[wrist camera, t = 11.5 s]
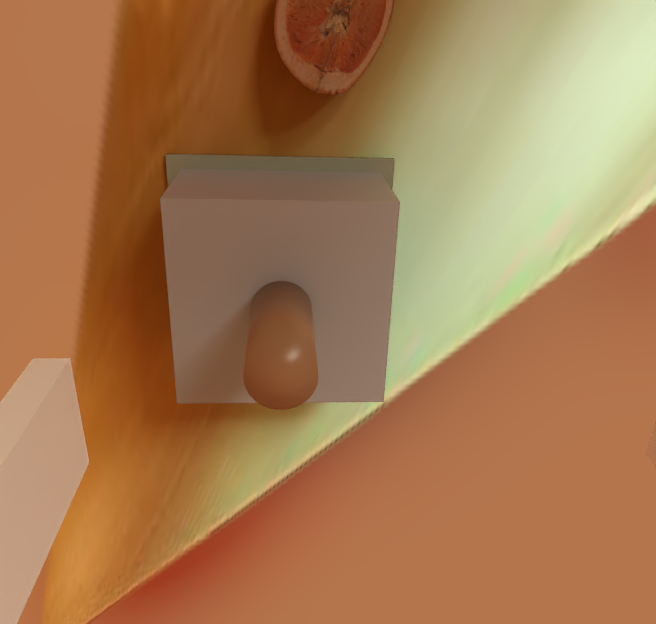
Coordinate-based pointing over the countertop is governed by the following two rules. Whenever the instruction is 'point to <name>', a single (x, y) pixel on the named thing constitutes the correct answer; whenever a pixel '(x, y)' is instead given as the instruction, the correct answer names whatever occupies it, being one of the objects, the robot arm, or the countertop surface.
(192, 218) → the cover
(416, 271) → the countertop surface
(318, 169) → the mat
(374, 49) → the fruit slice
